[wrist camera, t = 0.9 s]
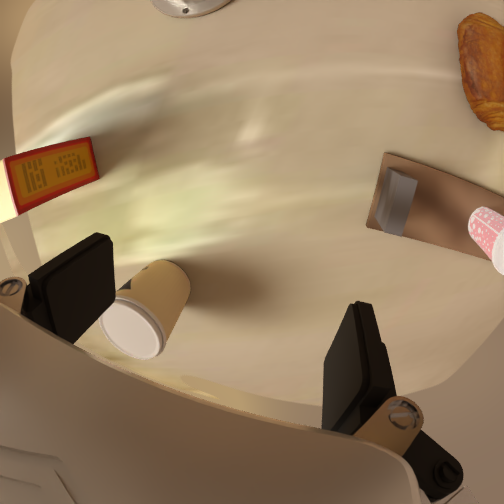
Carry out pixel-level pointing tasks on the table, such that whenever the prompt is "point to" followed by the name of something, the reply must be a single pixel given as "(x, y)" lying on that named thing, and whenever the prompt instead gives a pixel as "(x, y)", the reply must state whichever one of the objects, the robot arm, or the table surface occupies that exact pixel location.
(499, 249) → the beverage cup
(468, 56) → the croissant
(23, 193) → the baking soda box
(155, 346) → the coffee cup
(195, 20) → the table surface
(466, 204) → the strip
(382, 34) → the table surface
